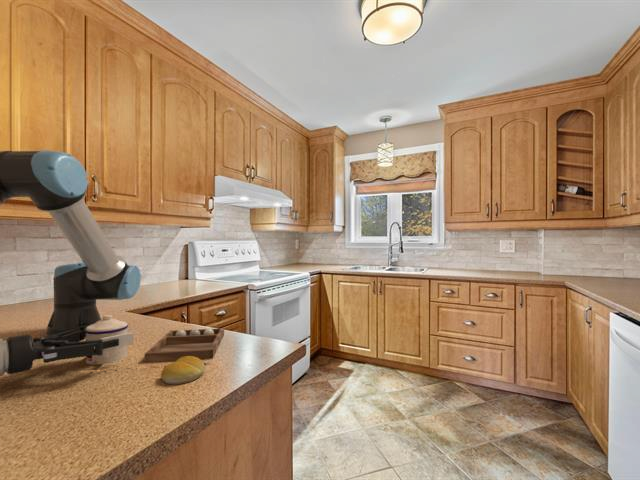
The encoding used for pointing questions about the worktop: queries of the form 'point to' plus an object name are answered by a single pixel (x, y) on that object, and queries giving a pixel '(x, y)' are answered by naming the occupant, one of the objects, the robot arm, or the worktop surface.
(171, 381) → the bread roll
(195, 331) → the pebble
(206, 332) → the pebble
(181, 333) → the pebble
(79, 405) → the worktop surface
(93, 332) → the teacup with lid
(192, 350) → the parts tray
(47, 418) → the worktop surface
